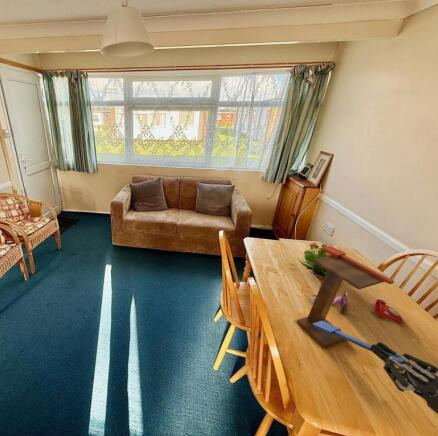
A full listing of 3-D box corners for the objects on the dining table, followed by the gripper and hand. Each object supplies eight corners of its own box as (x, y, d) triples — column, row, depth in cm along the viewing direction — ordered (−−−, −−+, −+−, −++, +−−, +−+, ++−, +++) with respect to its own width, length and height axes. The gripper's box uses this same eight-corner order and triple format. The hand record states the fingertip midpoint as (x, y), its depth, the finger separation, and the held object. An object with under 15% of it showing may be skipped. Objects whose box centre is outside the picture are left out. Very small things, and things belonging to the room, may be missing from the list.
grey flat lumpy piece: (318, 295, 113) (319, 292, 112) (332, 307, 106) (333, 304, 105) (305, 296, 112) (307, 293, 111) (319, 309, 105) (320, 306, 104)
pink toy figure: (343, 301, 101) (347, 291, 106) (329, 298, 105) (333, 288, 110) (344, 314, 102) (348, 304, 107) (330, 310, 106) (334, 301, 111)
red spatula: (395, 282, 74) (397, 279, 74) (387, 285, 73) (388, 282, 73) (329, 247, 93) (330, 245, 93) (321, 249, 92) (322, 247, 92)
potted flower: (354, 275, 127) (366, 248, 119) (349, 297, 111) (363, 269, 104) (302, 257, 142) (310, 232, 135) (292, 275, 127) (301, 248, 120)
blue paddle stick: (409, 362, 58) (408, 357, 58) (397, 367, 57) (397, 362, 57) (322, 323, 79) (321, 320, 79) (312, 327, 78) (312, 323, 78)
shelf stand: (352, 342, 90) (389, 278, 76) (326, 352, 86) (359, 287, 73) (314, 311, 104) (340, 253, 90) (290, 319, 100) (313, 259, 86)
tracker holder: (409, 320, 98) (396, 320, 95) (400, 325, 100) (386, 326, 97) (382, 295, 107) (369, 295, 104) (374, 301, 110) (361, 300, 107)
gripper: (440, 438, 48) (352, 361, 63) (476, 415, 52) (385, 347, 67) (461, 419, 45) (362, 342, 60) (498, 396, 49) (396, 329, 64)
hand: (374, 345), depth 63 cm, fingers closed on blue paddle stick, 1 cm apart
